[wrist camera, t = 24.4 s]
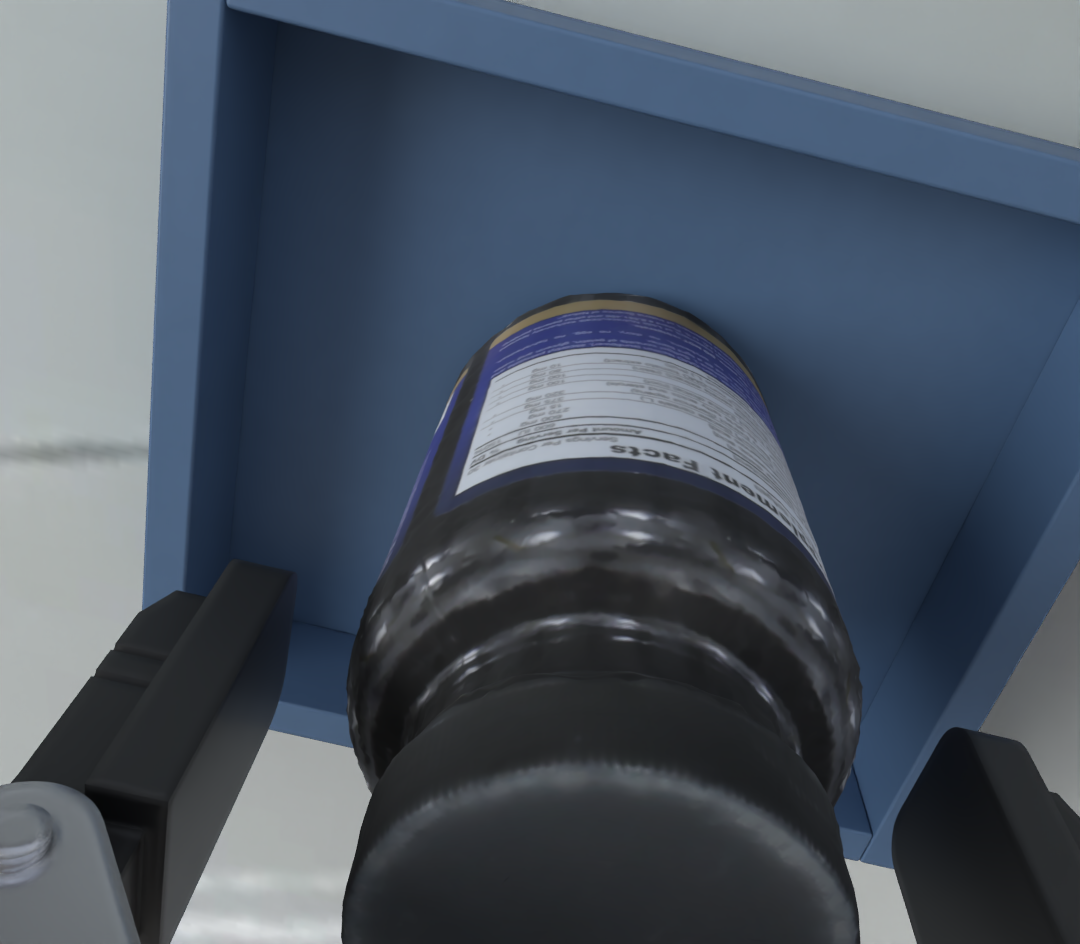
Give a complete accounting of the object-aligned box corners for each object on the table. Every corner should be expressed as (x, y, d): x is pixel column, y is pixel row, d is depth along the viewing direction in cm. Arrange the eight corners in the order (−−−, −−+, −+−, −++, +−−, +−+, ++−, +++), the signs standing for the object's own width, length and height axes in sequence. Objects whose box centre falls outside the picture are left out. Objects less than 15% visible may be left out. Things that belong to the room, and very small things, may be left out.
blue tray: (197, 608, 22) (137, 701, 19) (247, -66, 15) (168, -73, 13) (863, 760, 22) (897, 871, 20) (1172, 172, 16) (1286, 215, 13)
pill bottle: (619, 624, 20) (621, 1227, 11) (383, 453, 19) (132, 972, 9) (839, 422, 18) (1105, 964, 8) (587, 208, 16) (544, 558, 7)
